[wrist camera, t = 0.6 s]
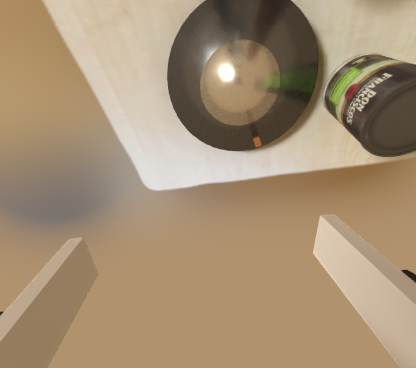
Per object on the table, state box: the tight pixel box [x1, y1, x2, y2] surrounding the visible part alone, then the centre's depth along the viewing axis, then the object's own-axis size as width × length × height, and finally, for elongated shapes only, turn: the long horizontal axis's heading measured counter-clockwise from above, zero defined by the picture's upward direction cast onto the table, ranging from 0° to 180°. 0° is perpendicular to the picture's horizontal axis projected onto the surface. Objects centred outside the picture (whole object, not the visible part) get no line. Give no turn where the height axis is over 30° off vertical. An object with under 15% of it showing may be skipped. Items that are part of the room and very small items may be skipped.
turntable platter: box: [167, 0, 318, 151], centre depth 33 cm, size 24×24×2 cm
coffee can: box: [323, 53, 416, 157], centre depth 29 cm, size 10×10×14 cm
